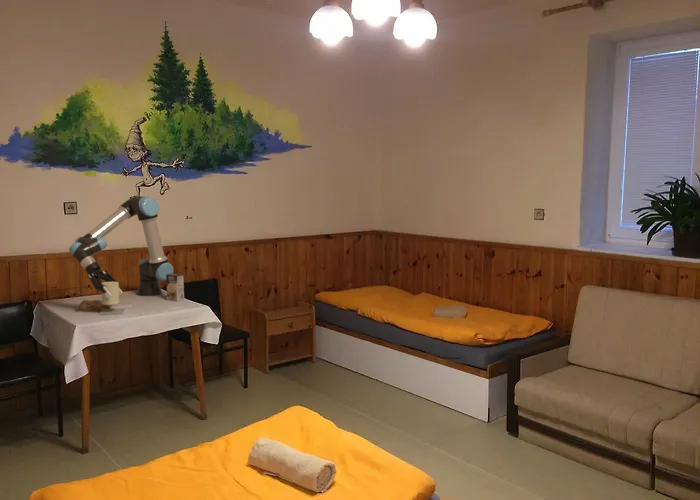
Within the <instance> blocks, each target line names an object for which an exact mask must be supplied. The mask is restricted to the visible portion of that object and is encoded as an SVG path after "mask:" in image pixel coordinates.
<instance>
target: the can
mask: <svg viewBox="0 0 700 500" xmlns="http://www.w3.org/2000/svg"><path fill="white" fill-rule="evenodd" d="M102 285H103V287H105V288H106V289H107V290H108V291H109V293H110V294H111V295H112V296H111V297H110V298H109V299H108V298H107V297H106V296H105V294H103V293H102V292H101V298H102V299H101V300H102V304H104V305H112V306H113V305H118V304H120V303H121V302H120V295H119V288H120V283H119V281H117V282H106V281H104V282H102Z"/></svg>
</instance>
